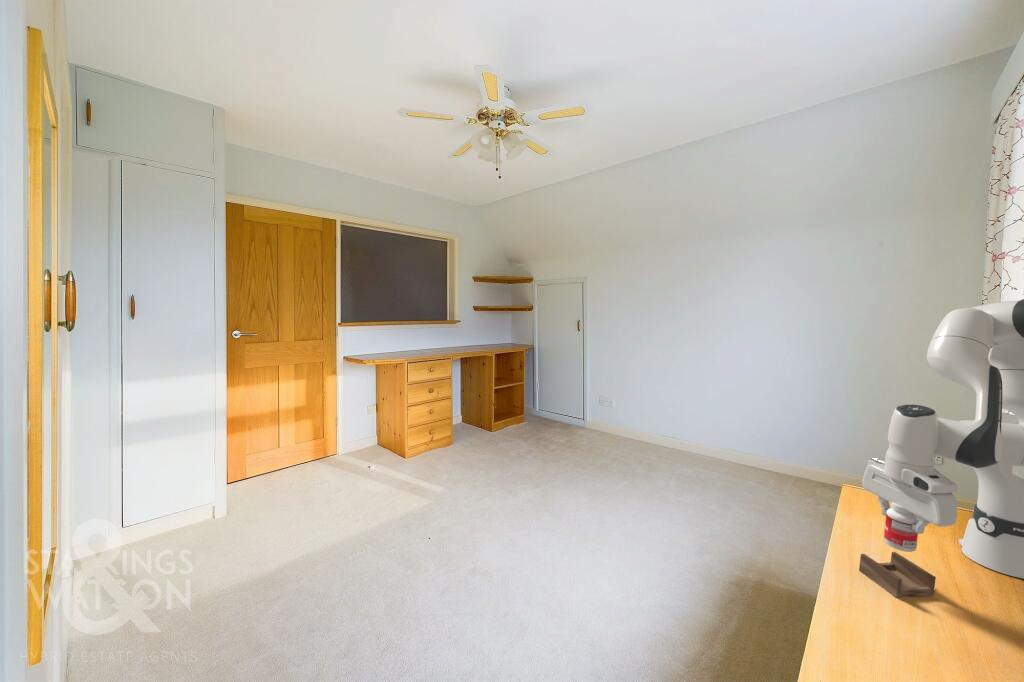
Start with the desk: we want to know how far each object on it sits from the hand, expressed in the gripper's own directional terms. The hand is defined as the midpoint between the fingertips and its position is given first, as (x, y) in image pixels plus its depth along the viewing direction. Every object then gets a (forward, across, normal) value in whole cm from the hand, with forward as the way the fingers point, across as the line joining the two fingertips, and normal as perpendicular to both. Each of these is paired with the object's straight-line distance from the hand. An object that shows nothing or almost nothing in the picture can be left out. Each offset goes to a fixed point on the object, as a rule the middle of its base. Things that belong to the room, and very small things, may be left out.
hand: (901, 523), depth 106 cm
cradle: (+16, 0, 0) cm, 16 cm away
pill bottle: (+6, 0, 0) cm, 6 cm away
